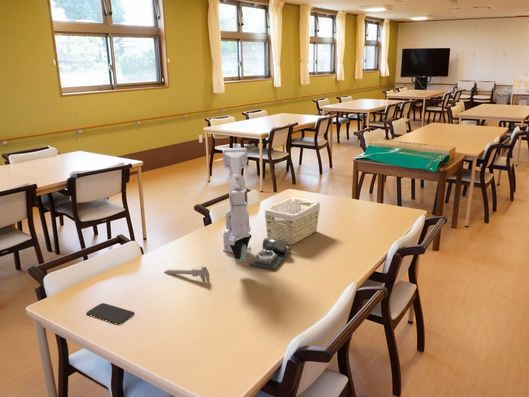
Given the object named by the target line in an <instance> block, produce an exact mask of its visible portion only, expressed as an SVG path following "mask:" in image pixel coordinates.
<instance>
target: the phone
mask: <svg viewBox="0 0 529 397" xmlns="http://www.w3.org/2000/svg"><path fill="white" fill-rule="evenodd" d="M87 314H89V315H92V316H95V317H98V318H101V319H100V320H102V319H104V320H103V321H105V320H107V321H110V322H109V323H111V322H114V323H117V324H120V323H122V322H124V321H125V320H127V319H128V318H130V317H131V316H132V315H134V314H135V312H134V311H132V310H129V309H124V308H121V307H119V306H115V305H112V304H108V303H104V302H102V303H100V304H98V305H96V306H94V307H92V308H90V309H89V310H88V311H86V315H87ZM89 315H88V316H89ZM92 316H91V317H92ZM134 316H135V315H134ZM95 317H94V318H95ZM132 317H133V316H132ZM132 317H131V318H132ZM98 318H97V319H98ZM131 318H130V319H131ZM128 320H129V319H128ZM128 320H127V321H128ZM107 321H106V322H107ZM125 322H126V321H125ZM125 322H124V323H125ZM114 323H113V324H114ZM117 324H116V325H117ZM122 324H123V323H122ZM120 325H121V324H120Z"/></svg>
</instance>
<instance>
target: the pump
mask: <svg viewBox="0 0 529 397" xmlns="http://www.w3.org/2000/svg"><path fill="white" fill-rule="evenodd" d="M251 252H252V249H251V248H249V249H247V248H246V245H245V244H243V246H242V250H241V258H240V259H235V258H234V261H236V263H237V262H239V263H242V262H246V261H247V254H251Z"/></svg>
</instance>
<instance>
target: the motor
mask: <svg viewBox="0 0 529 397" xmlns="http://www.w3.org/2000/svg"><path fill="white" fill-rule="evenodd" d="M291 252H292V249H290V248H289V245H288V244H287V241H283V240H276V239H269V238H267V237H264V238H263V242H262V249H261V250H259V251H258V252H257V253H256V255H255V256H253V258H252V259H251V260H250V261H248V266H249V267H253V268H259V269H264V270H269V271H276V270H277V269H278V268H279V266H281V264H282V263H283V262H284V261H285V260H286V258H287V257H289V255H290V254H291Z"/></svg>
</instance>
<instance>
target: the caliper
mask: <svg viewBox="0 0 529 397" xmlns="http://www.w3.org/2000/svg"><path fill="white" fill-rule="evenodd" d="M164 272H165V274H169V275H192V277H200V279H201V281H202V283H205V282H206V283H209V282H211V281H210V279H211V278H210V273H209V270H208V269H207V266H201V268H192V269H166V270H164Z"/></svg>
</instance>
